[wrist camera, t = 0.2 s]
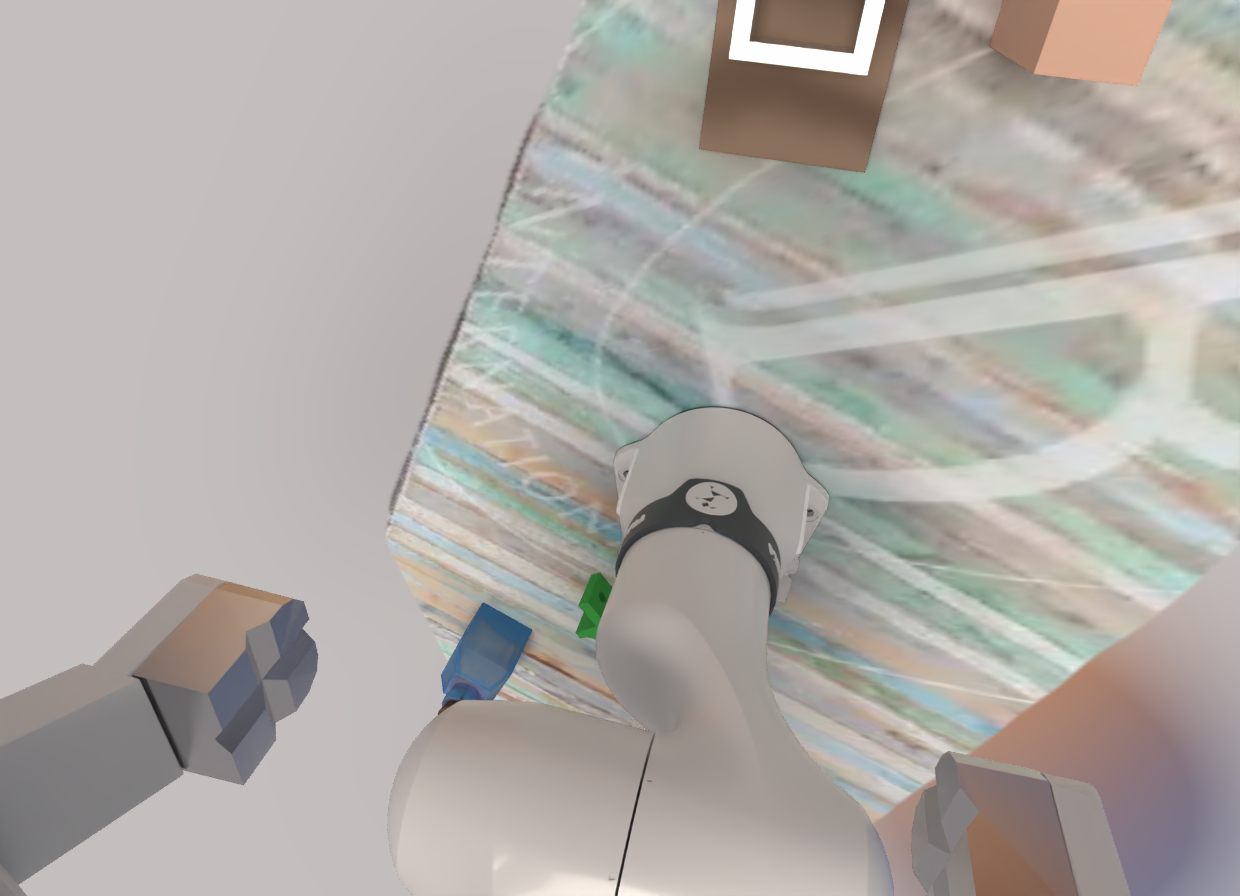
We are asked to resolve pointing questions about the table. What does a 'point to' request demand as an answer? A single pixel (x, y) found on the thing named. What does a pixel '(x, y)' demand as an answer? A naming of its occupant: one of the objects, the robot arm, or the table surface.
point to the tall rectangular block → (1081, 37)
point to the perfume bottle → (483, 657)
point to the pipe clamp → (593, 605)
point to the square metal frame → (805, 43)
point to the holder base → (799, 87)
